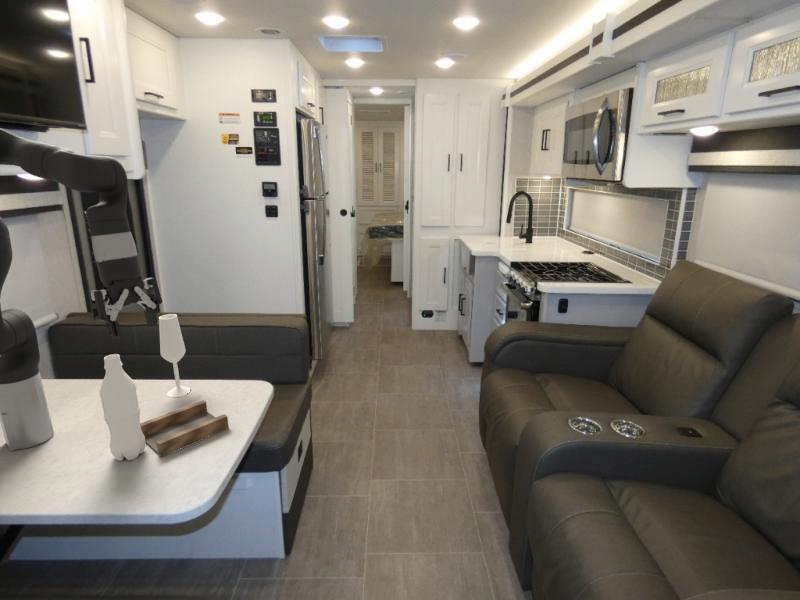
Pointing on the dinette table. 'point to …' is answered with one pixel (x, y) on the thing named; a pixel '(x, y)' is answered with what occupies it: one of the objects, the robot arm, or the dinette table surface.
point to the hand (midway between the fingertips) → (135, 332)
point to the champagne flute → (172, 349)
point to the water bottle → (121, 411)
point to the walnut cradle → (182, 428)
